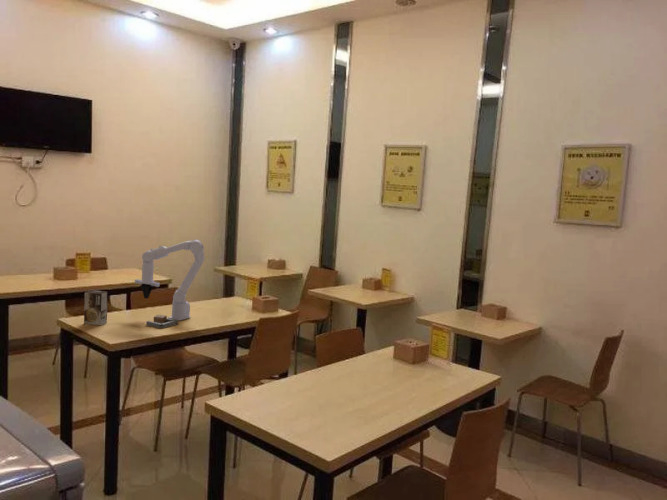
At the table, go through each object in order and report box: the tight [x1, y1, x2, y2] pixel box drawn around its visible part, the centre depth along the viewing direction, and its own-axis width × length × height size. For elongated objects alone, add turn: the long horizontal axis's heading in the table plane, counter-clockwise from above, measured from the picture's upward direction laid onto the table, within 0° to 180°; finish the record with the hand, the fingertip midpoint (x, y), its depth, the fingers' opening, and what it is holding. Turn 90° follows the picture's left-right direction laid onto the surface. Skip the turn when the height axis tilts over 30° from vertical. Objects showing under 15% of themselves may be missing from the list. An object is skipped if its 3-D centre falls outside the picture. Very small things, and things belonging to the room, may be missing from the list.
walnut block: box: [153, 314, 168, 324], centre depth 282 cm, size 5×5×4 cm
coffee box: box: [83, 289, 109, 326], centre depth 272 cm, size 9×6×16 cm
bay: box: [145, 317, 179, 329], centre depth 280 cm, size 12×10×2 cm
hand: (146, 298), depth 292 cm, fingers closed
